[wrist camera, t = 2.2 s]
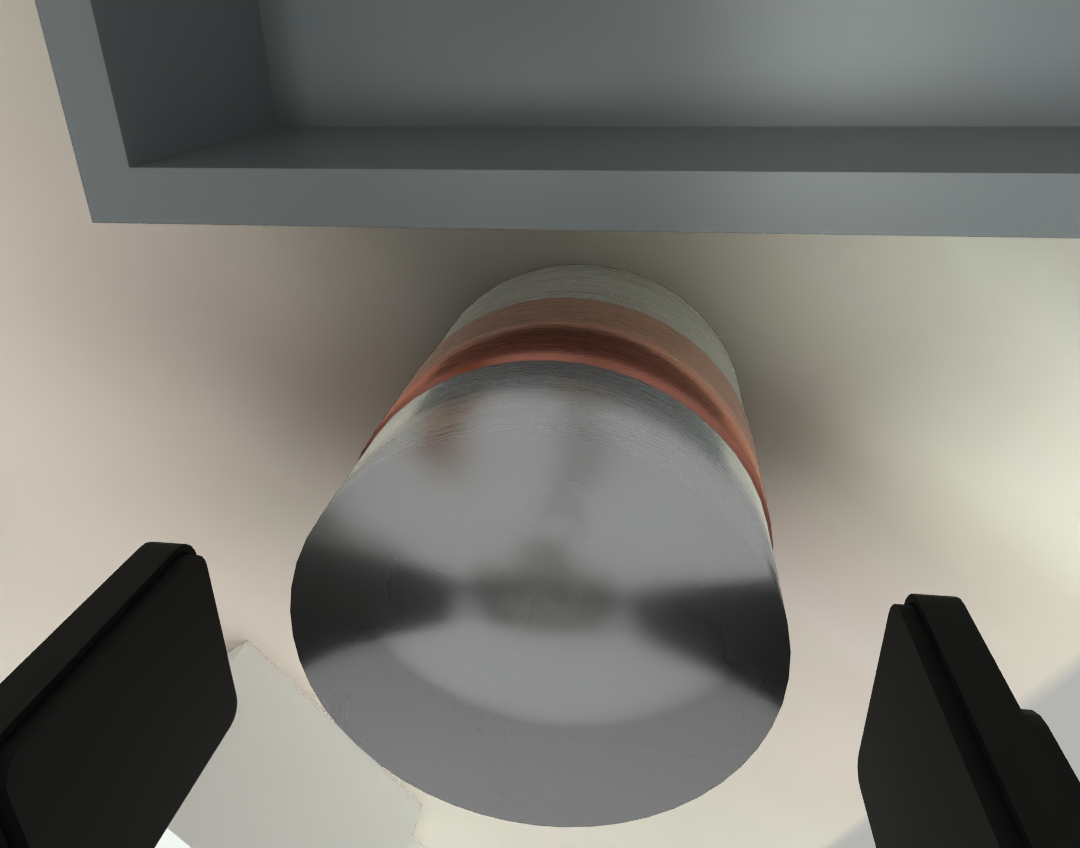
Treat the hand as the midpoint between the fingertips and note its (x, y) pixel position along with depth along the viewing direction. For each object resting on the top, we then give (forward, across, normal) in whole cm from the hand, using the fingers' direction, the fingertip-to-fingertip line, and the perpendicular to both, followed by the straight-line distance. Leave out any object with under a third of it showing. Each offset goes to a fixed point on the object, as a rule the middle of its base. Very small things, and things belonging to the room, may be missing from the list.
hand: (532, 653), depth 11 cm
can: (+6, 0, -1) cm, 6 cm away
